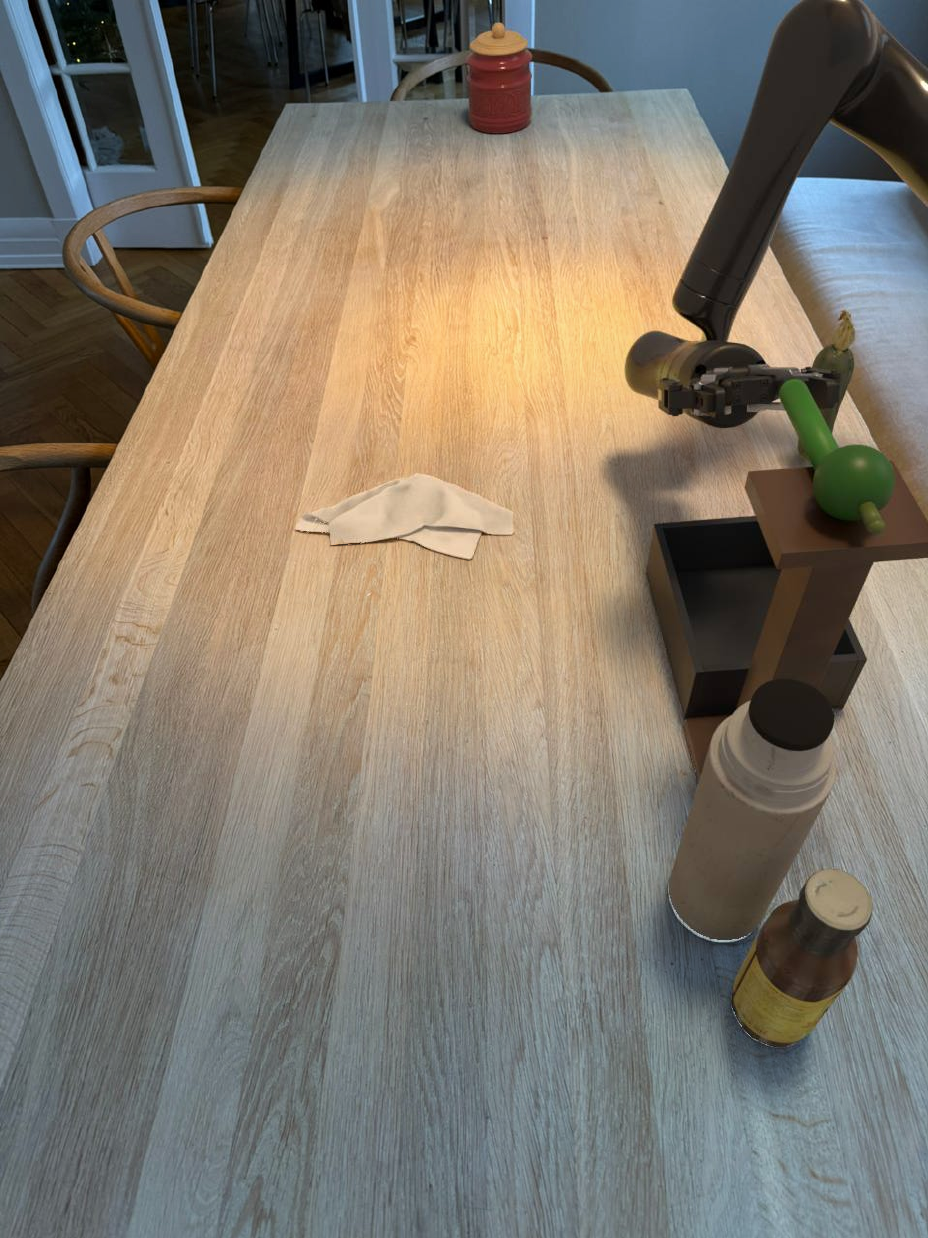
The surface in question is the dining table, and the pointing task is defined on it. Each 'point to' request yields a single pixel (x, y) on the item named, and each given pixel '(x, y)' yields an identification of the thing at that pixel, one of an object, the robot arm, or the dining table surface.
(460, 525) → the cloth
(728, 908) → the thermos bottle
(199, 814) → the dining table surface
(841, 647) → the open box
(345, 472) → the dining table surface
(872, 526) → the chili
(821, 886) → the sauce bottle
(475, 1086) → the dining table surface
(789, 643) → the shelf stand
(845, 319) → the vegetable
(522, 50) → the kitchen canister
